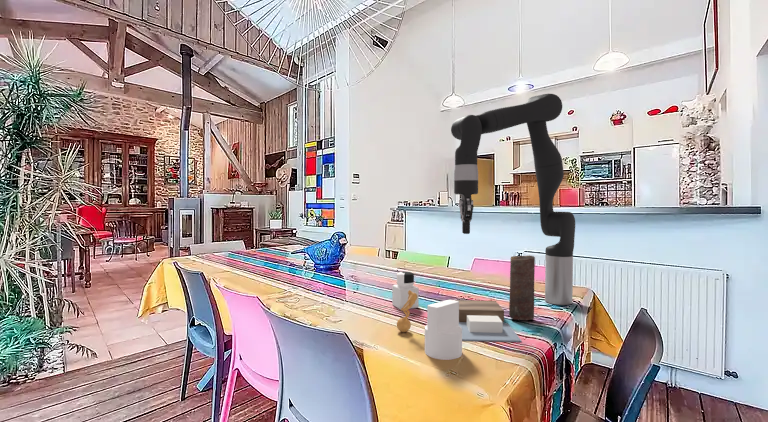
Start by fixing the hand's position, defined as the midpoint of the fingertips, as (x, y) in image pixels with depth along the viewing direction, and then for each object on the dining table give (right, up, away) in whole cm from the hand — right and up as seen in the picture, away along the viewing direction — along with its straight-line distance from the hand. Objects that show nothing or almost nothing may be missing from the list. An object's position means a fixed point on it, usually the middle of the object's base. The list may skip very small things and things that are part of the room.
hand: (466, 233), depth 126 cm
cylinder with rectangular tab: (-12, -28, -30) cm, 43 cm away
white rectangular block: (+2, -25, -14) cm, 29 cm away
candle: (+16, -27, -4) cm, 32 cm away
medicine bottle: (-19, -27, +12) cm, 35 cm away
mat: (+2, -27, -15) cm, 31 cm away
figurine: (-20, -27, -16) cm, 37 cm away
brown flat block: (+3, -27, -1) cm, 27 cm away
